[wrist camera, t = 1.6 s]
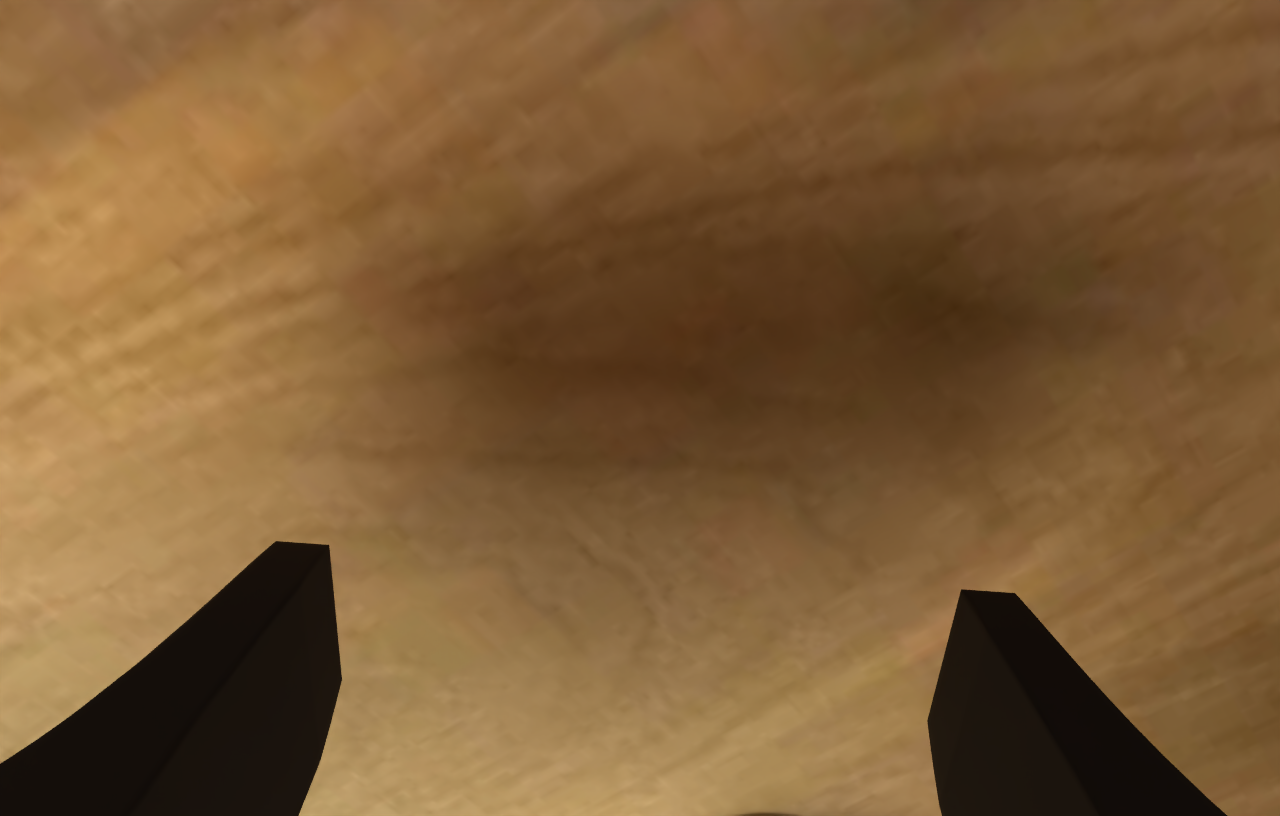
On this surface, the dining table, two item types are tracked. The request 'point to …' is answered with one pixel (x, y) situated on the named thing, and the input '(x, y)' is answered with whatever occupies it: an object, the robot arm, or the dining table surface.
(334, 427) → the dining table surface
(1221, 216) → the dining table surface
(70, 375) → the dining table surface
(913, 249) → the dining table surface
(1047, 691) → the robot arm
